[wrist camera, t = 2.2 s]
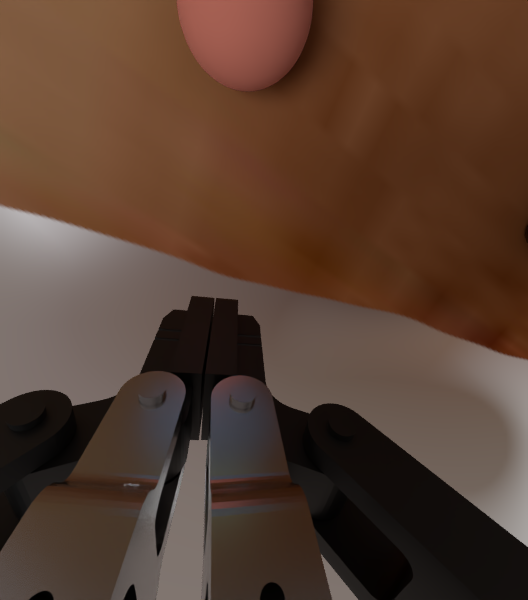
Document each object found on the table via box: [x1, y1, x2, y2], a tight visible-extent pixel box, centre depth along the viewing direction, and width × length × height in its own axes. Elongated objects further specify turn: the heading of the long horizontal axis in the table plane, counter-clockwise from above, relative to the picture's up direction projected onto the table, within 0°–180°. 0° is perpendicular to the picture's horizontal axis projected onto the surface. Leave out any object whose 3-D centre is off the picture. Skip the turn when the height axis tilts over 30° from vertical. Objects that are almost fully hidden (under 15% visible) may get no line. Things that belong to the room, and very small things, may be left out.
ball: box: [177, 0, 313, 92], centre depth 12 cm, size 6×6×6 cm
